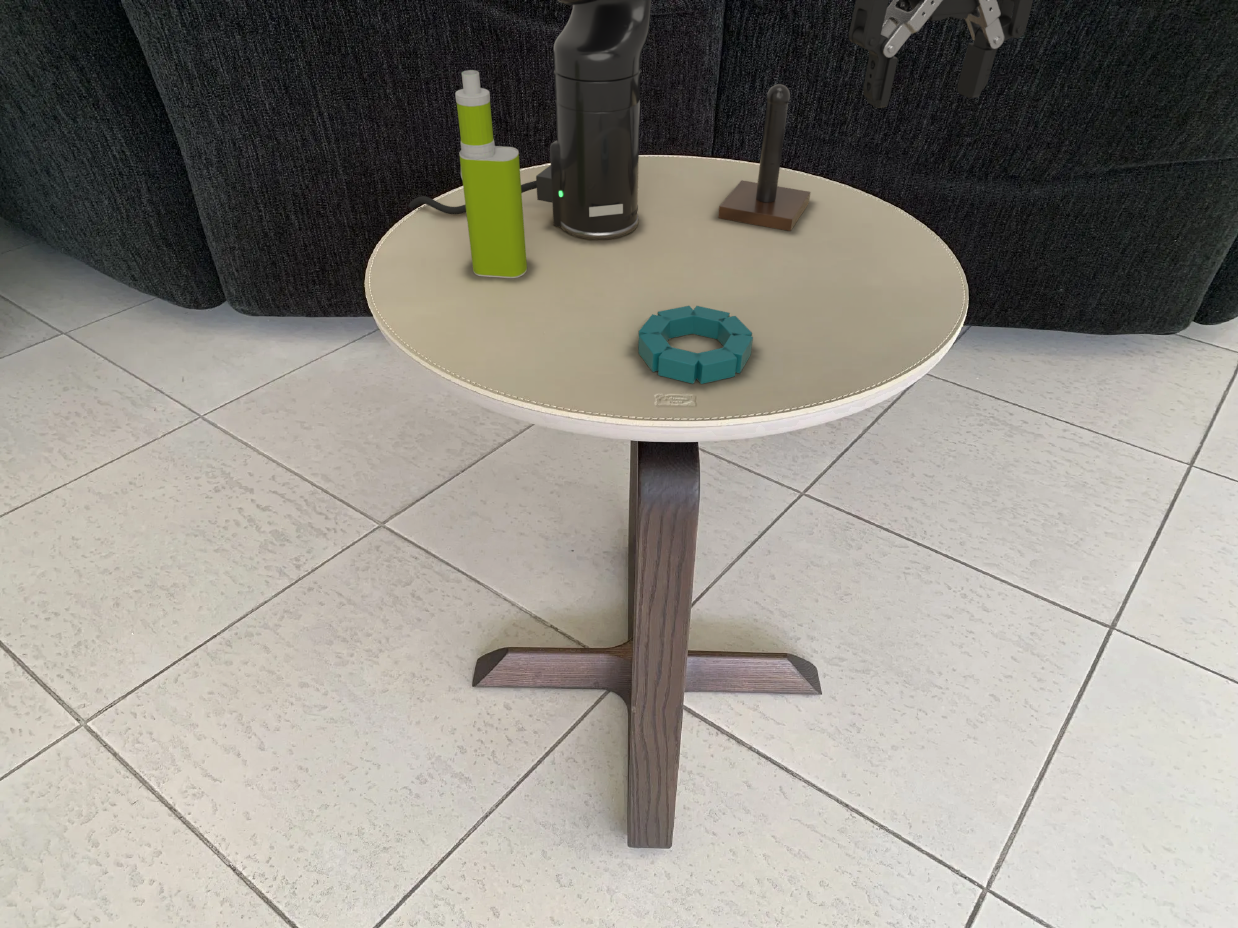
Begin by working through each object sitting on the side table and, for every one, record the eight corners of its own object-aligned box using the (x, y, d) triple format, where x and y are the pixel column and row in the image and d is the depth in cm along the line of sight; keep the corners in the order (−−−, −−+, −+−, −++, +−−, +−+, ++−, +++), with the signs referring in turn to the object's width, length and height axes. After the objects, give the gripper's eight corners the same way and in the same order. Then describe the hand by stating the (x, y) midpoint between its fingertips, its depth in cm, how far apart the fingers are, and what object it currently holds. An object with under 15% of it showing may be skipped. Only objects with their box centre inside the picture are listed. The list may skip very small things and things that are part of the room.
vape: (477, 259, 92) (455, 66, 79) (530, 263, 92) (516, 69, 79) (468, 275, 89) (443, 77, 77) (522, 279, 89) (507, 80, 76)
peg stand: (718, 218, 101) (729, 90, 92) (740, 191, 107) (752, 69, 98) (790, 231, 98) (809, 101, 89) (808, 203, 105) (828, 79, 95)
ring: (624, 367, 76) (624, 348, 75) (664, 316, 83) (664, 298, 82) (728, 393, 73) (730, 374, 72) (760, 338, 80) (763, 319, 79)
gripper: (1030, -153, 61) (969, 80, 72) (860, -150, 58) (821, 94, 69) (1104, -143, 56) (1026, 107, 67) (920, -140, 53) (868, 123, 63)
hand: (922, 100), depth 68 cm, fingers open, 8 cm apart
